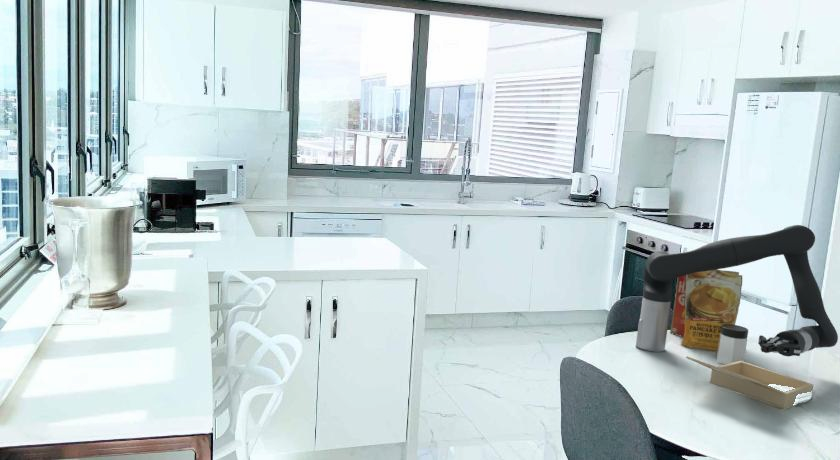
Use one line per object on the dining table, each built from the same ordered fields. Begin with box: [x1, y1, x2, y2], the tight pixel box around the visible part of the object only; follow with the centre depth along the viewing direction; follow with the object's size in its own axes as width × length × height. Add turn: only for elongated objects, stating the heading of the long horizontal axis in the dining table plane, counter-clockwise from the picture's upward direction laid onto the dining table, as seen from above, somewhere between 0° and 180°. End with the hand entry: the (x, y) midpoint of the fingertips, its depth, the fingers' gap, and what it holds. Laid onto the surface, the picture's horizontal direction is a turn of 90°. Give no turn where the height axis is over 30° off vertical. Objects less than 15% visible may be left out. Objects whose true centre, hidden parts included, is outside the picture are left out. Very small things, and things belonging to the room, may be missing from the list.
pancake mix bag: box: [680, 269, 743, 353], centre depth 242 cm, size 7×19×28 cm, turn 77°
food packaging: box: [669, 275, 686, 337], centre depth 257 cm, size 13×9×25 cm
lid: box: [685, 356, 784, 394], centre depth 194 cm, size 16×21×1 cm
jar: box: [716, 324, 749, 365], centre depth 228 cm, size 9×8×12 cm
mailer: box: [709, 361, 815, 410], centre depth 204 cm, size 16×22×4 cm
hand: (764, 348), depth 202 cm, fingers closed
